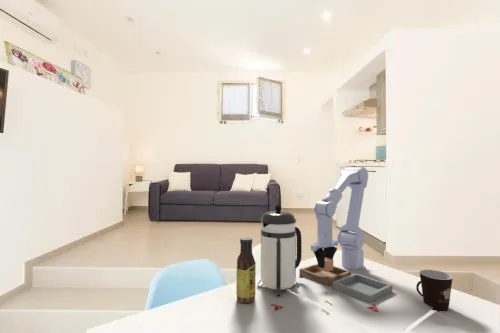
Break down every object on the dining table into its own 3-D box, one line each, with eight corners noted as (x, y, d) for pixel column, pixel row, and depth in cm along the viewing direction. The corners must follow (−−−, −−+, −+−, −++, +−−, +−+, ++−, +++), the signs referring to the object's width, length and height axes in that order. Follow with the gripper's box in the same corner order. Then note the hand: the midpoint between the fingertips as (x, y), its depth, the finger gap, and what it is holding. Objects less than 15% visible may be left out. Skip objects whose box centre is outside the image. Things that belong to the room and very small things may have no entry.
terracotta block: (325, 267, 113) (325, 257, 113) (333, 269, 110) (333, 259, 110) (318, 269, 110) (318, 258, 110) (326, 272, 107) (326, 261, 107)
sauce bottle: (253, 305, 88) (253, 241, 88) (234, 303, 89) (234, 240, 89) (257, 296, 94) (257, 237, 94) (239, 294, 95) (239, 236, 96)
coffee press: (302, 299, 92) (302, 208, 93) (254, 295, 95) (255, 206, 95) (301, 278, 109) (301, 202, 110) (260, 276, 112) (261, 201, 112)
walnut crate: (322, 269, 120) (322, 262, 120) (351, 279, 109) (350, 271, 109) (299, 276, 112) (299, 269, 112) (328, 288, 101) (328, 280, 101)
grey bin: (355, 281, 107) (355, 273, 107) (392, 294, 96) (392, 285, 96) (332, 290, 99) (332, 281, 99) (370, 305, 88) (370, 296, 88)
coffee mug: (442, 300, 91) (442, 270, 91) (459, 314, 83) (459, 280, 83) (405, 299, 92) (404, 268, 92) (418, 312, 84) (417, 278, 84)
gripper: (321, 236, 103) (321, 273, 103) (344, 231, 112) (344, 265, 111) (306, 232, 109) (306, 267, 108) (330, 228, 117) (330, 260, 117)
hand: (324, 266), depth 110 cm, fingers closed on terracotta block, 4 cm apart
